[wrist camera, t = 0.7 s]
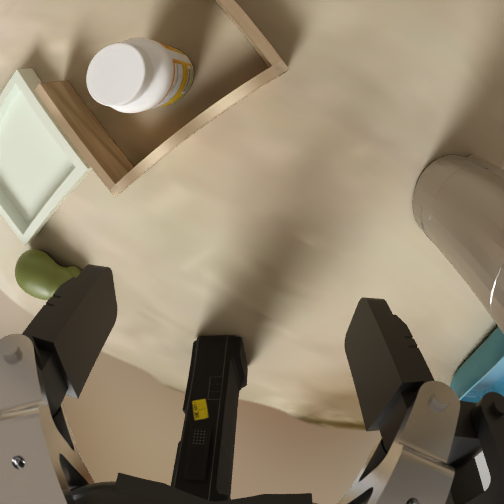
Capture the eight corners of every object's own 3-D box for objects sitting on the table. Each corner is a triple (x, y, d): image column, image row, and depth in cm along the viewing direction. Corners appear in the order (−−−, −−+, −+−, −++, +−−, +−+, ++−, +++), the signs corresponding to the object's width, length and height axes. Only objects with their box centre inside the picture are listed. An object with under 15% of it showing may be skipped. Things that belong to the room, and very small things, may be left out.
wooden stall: (197, -31, 17) (185, -50, 13) (284, 72, 22) (288, 69, 18) (62, 86, 22) (34, 89, 18) (135, 180, 27) (115, 197, 23)
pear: (8, 260, 26) (83, 291, 29) (27, 234, 30) (95, 262, 34) (9, 294, 28) (78, 323, 32) (25, 268, 33) (89, 294, 36)
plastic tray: (31, 68, 21) (16, 69, 19) (100, 161, 26) (87, 169, 24) (-21, 154, 25) (-34, 160, 23) (36, 235, 31) (25, 245, 28)
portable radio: (191, 329, 36) (145, 534, 15) (240, 327, 36) (220, 546, 14) (204, 369, 40) (176, 544, 19) (248, 368, 40) (236, 551, 18)
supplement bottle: (125, 69, 22) (63, 68, 13) (177, 36, 20) (132, 14, 12) (152, 117, 24) (100, 135, 16) (205, 86, 23) (173, 85, 14)
